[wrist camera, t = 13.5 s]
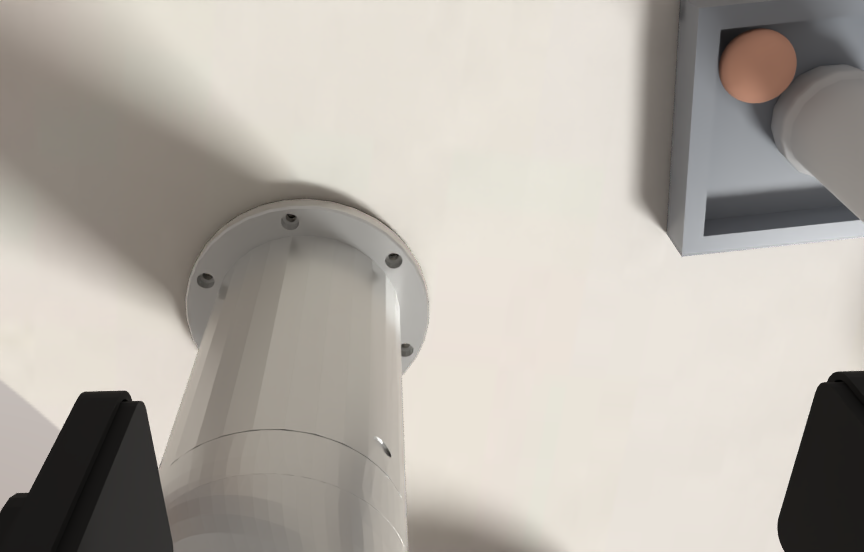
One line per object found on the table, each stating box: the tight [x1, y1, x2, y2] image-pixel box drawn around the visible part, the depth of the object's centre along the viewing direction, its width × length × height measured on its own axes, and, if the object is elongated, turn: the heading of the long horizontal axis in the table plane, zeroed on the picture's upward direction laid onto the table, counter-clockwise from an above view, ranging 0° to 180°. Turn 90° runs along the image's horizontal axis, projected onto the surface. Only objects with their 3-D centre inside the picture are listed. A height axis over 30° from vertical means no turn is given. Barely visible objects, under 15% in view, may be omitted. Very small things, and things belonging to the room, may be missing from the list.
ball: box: [719, 28, 797, 103], centre depth 36 cm, size 3×3×3 cm
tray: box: [667, 0, 864, 256], centre depth 39 cm, size 12×14×2 cm
